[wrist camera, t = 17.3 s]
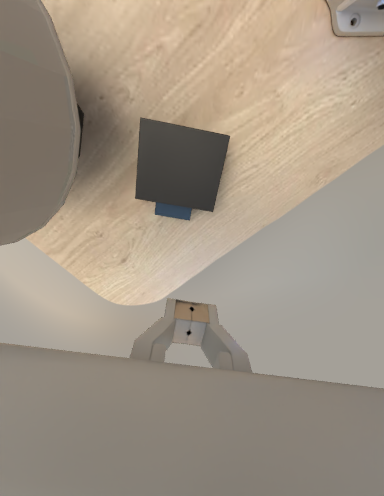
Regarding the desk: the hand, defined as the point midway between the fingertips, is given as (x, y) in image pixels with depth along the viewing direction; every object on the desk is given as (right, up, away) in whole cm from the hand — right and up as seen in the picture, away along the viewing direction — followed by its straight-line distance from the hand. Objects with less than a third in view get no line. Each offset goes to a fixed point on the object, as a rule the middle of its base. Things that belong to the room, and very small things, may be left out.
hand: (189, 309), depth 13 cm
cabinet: (-2, +19, +26) cm, 32 cm away
